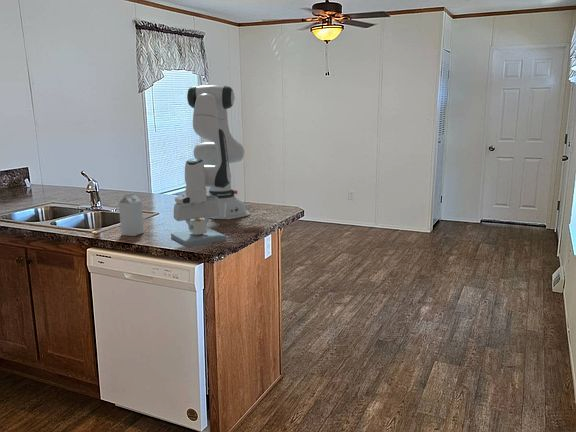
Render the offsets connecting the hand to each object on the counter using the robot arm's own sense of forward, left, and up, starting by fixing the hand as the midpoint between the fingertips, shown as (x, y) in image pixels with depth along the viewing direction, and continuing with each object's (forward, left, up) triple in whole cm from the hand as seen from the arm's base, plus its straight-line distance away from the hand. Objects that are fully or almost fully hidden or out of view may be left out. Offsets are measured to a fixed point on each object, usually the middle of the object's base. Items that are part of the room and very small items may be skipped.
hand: (197, 228), depth 222 cm
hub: (0, 0, -5) cm, 5 cm away
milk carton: (+21, -26, -5) cm, 34 cm away
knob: (0, 0, -2) cm, 2 cm away
